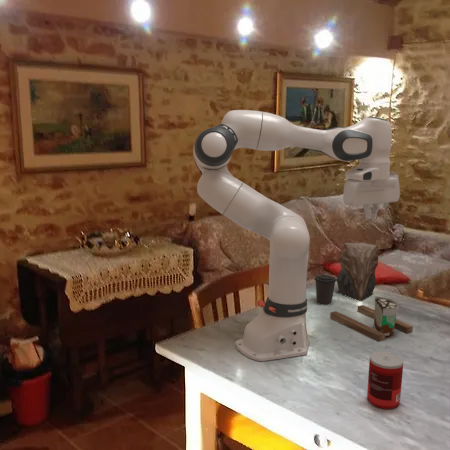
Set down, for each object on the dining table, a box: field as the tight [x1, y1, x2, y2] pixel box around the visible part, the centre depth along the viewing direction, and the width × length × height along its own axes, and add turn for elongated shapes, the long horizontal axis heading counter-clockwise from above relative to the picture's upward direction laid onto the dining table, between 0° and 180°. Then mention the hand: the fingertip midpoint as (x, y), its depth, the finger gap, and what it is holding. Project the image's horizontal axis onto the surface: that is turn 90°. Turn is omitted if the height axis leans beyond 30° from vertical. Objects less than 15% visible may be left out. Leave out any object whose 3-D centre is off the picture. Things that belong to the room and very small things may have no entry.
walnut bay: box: [329, 304, 414, 343], centre depth 172 cm, size 15×22×2 cm
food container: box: [373, 296, 400, 339], centre depth 165 cm, size 12×6×10 cm, turn 176°
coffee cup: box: [313, 274, 337, 306], centre depth 192 cm, size 8×8×10 cm
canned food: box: [366, 351, 404, 410], centre depth 124 cm, size 8×8×11 cm
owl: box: [336, 241, 379, 302], centre depth 200 cm, size 13×13×20 cm
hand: (370, 218), depth 157 cm, fingers closed
